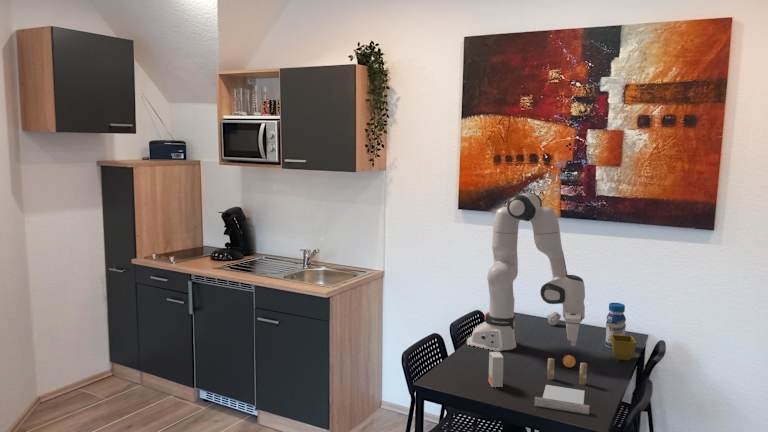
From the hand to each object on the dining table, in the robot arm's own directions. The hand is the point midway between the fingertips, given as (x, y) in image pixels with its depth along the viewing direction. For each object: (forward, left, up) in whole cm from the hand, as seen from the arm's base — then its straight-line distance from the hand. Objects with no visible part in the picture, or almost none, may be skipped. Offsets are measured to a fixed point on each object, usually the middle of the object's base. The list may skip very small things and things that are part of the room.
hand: (573, 345), depth 244 cm
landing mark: (-1, -39, -7) cm, 39 cm away
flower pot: (+20, +11, -7) cm, 24 cm away
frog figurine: (-12, +49, -7) cm, 51 cm away
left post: (-7, -25, -7) cm, 27 cm away
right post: (+5, -25, -7) cm, 26 cm away
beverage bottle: (+17, +26, -7) cm, 32 cm away
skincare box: (-26, -39, -7) cm, 47 cm away
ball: (-1, -9, -4) cm, 10 cm away
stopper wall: (-1, -51, -7) cm, 51 cm away
